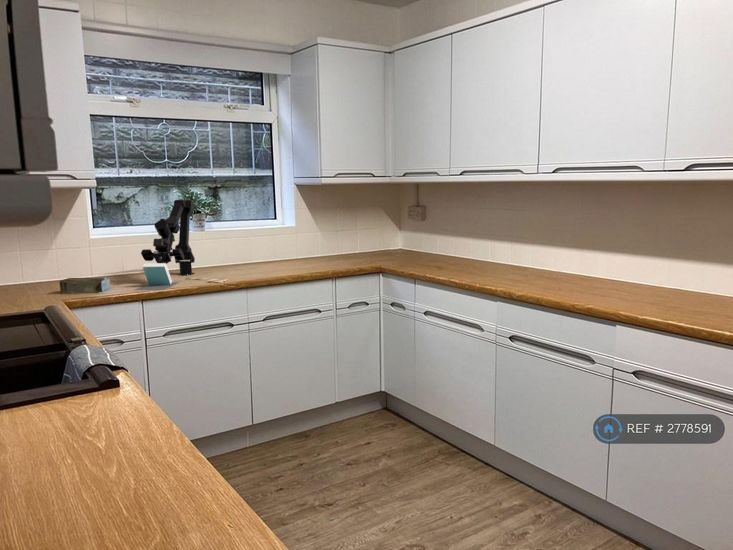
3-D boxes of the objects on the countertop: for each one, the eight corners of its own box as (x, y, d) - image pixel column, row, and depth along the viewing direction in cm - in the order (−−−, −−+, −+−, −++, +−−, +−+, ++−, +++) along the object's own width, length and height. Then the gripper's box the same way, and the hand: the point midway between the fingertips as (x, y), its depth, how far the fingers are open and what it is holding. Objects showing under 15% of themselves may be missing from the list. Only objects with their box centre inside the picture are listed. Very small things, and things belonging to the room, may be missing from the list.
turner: (182, 281, 285) (182, 278, 285) (191, 278, 292) (191, 276, 291) (219, 282, 277) (219, 280, 277) (228, 280, 284) (227, 278, 284)
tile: (151, 281, 274) (144, 263, 267) (172, 281, 274) (165, 263, 267) (149, 285, 272) (142, 267, 265) (170, 284, 272) (164, 266, 265)
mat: (151, 283, 280) (151, 282, 280) (180, 283, 279) (180, 282, 279) (133, 291, 260) (133, 290, 260) (164, 290, 259) (164, 289, 259)
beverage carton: (102, 294, 255) (101, 279, 254) (59, 294, 256) (57, 280, 255) (111, 290, 263) (109, 276, 262) (69, 291, 264) (67, 277, 263)
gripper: (141, 232, 274) (132, 258, 265) (180, 231, 273) (173, 258, 264) (149, 247, 283) (141, 273, 274) (187, 246, 282) (180, 272, 273)
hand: (158, 269), depth 271 cm, fingers closed
